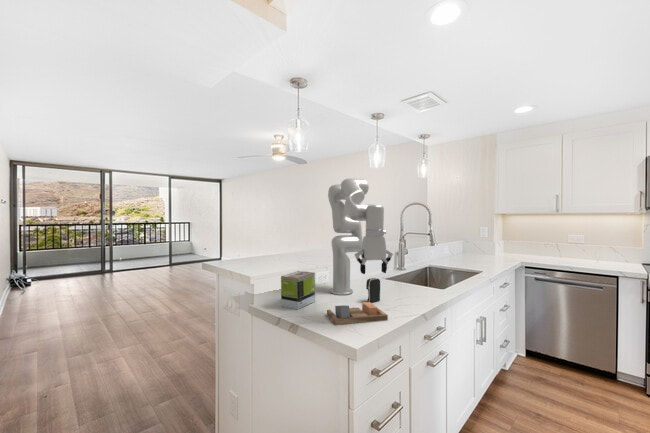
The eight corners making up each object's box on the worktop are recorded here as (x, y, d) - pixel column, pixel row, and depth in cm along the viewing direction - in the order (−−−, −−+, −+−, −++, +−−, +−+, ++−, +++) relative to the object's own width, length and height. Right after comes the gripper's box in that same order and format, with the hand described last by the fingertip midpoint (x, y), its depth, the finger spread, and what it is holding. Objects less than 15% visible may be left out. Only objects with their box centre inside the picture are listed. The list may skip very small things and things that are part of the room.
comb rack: (326, 314, 129) (326, 310, 129) (374, 310, 135) (374, 306, 135) (335, 325, 117) (335, 319, 117) (387, 320, 123) (387, 315, 123)
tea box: (299, 298, 153) (299, 270, 153) (315, 301, 148) (315, 272, 148) (280, 306, 140) (280, 275, 140) (297, 310, 135) (297, 277, 135)
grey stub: (335, 317, 126) (335, 305, 127) (343, 316, 127) (342, 305, 128) (341, 318, 119) (340, 306, 120) (349, 317, 120) (348, 305, 121)
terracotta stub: (362, 312, 133) (362, 302, 133) (369, 312, 134) (369, 301, 133) (369, 318, 125) (369, 307, 125) (377, 318, 126) (377, 307, 126)
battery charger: (375, 299, 153) (375, 276, 153) (380, 300, 150) (380, 278, 150) (365, 301, 149) (365, 278, 149) (370, 303, 146) (370, 279, 146)
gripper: (388, 232, 135) (387, 270, 135) (352, 232, 130) (351, 271, 131) (396, 234, 127) (395, 274, 128) (358, 234, 123) (357, 275, 124)
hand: (373, 272), depth 129 cm, fingers open, 9 cm apart
